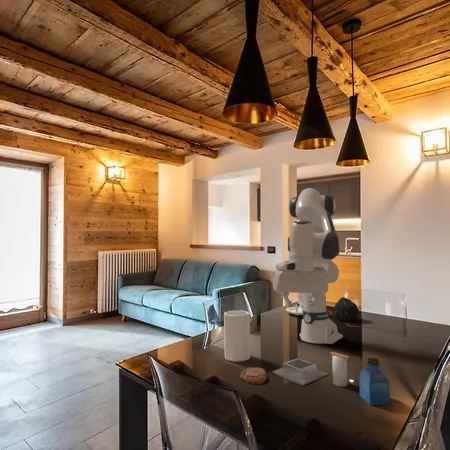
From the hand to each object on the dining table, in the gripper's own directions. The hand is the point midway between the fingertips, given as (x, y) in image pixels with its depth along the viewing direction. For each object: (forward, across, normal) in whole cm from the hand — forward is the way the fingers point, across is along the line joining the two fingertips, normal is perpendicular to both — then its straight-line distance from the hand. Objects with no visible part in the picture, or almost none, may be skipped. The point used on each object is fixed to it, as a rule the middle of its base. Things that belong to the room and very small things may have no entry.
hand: (300, 306), depth 114 cm
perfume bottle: (+26, -17, +16) cm, 35 cm away
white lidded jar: (+25, -14, +3) cm, 29 cm away
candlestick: (+18, -55, -93) cm, 110 cm away
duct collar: (+26, -5, -8) cm, 27 cm away
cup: (+26, +11, -32) cm, 43 cm away
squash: (+18, -74, -72) cm, 105 cm away
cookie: (+27, +12, -10) cm, 31 cm away
